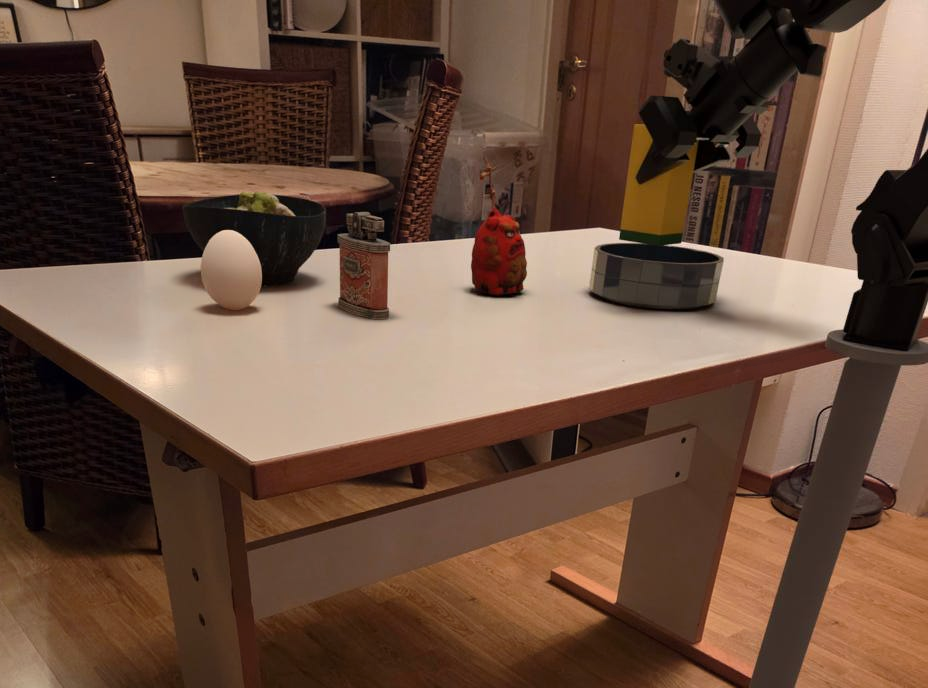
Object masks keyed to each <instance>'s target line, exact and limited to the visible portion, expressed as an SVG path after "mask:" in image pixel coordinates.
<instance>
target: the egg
mask: <svg viewBox="0 0 928 688" xmlns="http://www.w3.org/2000/svg"><path fill="white" fill-rule="evenodd" d="M200 276H201V281H202V285H203V288H204V290H205V292H206V293H207V294H208V295H209V297H210V298H211V299H212V300H213V302H215V303H216V304H217V305H218V306H220V307H222V308H223V309H226V310H231V311H238V310H242V309H245V308H246V307H248V306H250V305H251V304H252V303H253V302H254V301H255V300H256V298H257V296H258V295H259V293H260V290H261V288H262V286H261V284H262V271H261V265H260V261H259V258H258V256H257V254H256V252H255V250H254V248H253V247H252V245H251V244H250V242H249V241H248V240H247V239H246V238H245V237H244V236H242V235H241V234H239V233H238V232H236V231H233V230H223V231H221V232H219V233H217V234H215V235H214V236H213V237H212V238H211V239H210V240H209V242H208V244H207V246H206V247H205V250H204V252H203V253H202V256H201V260H200Z"/></svg>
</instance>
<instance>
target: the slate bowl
mask: <svg viewBox="0 0 928 688" xmlns="http://www.w3.org/2000/svg"><path fill="white" fill-rule="evenodd" d="M724 261H725V257H723V256H722V255H719V254H717V253H713V252H710V251H706V250H701V249H696V248H690V247H685V246H684V247H683V246H677V245H662V246H656V245H650V244H643V243H637V242H612V243H602V244H597V246H595V247H594V248H593V257H592V264H591V271H590V278H589V286H588V288H589V290H590V291H591V292H592V293H594V294H596V295H597V296H599V297H600V298H602V299H603V300H606V301H609V302H612V303H615V304H620V305H623V306H629V307H634V308H641V309H642V308H643V309H650V310H651V309H652V310H663V311H666V310H667V311H668V310H669V311H687V310H695V309H699V308H703V307H704V306H708V305H711V304H713V303H716V299H717V295H718V290H719V285H720V281H721V276H722V271H723V266H724Z"/></svg>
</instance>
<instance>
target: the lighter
mask: <svg viewBox="0 0 928 688" xmlns="http://www.w3.org/2000/svg"><path fill="white" fill-rule="evenodd" d="M346 227H347V228H346V229H347V231H348V233H338V234H337V243H338V244H339V297H337V298H338V307H339V308H341V310H344V311H346V312H348V313H350V314H353V315H356V316H360V317H363V318H367V319H372V320H385V319H389V317H390V308H389V307H388V301H389V300H388V293H389V292H388V291H389V252H391V242H389V241H386V240H383V239H380V238H377V232H385V220H383V218H382V217H379V216H375V215H371V213H370V212H368V211H360V212H359V211H354V212H353V213H346Z"/></svg>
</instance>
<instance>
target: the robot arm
mask: <svg viewBox="0 0 928 688" xmlns="http://www.w3.org/2000/svg"><path fill="white" fill-rule="evenodd" d="M886 1H887V0H713V2H714V5H715V7H716V8H717V10H718V12H719V14H720V17H721V18H722V21H723V22H724V24H725V26H726V28H727V30H728V32H729V35H730V37H732V38H733V39H735V40H741V39H745V40H747V41H748V42H747V43H746V44H745V45H743V47H742V48H741V49H740V50H739V52H737V54H735V55H734V56H733V58H731V59H717V58H716V57H715V56H714V55H713V54H711V53H709V51H708V50H706V49H704V48H703V47H701V46H699V45H698V44H695V43H691V40H690V39H689V38H688V39H687V38H681V37H680V38H679V39H678V40H677V41H676V42H673V43H672V44H671V47H670V48H669V49H666V50H665V51H664V53H663V62H662V65H663V71H662V73H663V74H664V75H665V76H666V77H667V78H671V79H672V80H674V81H676V82H677V83H678V84H679V85H681V86H682V87H683V88H685V89H686V90H685V92H684V93H683V97H684V99H685V101H686V103H687V104H688V105H690V107H691V108H690V110H686V109H685V107H684V105H683V103H682V102H681V99H680V98H679V97H678V96H665V95H650V96H649V97H648V98H647V99H646V101H645V102H644V103H643V104H642V105H641V106H640V107H639V109H638V115H639V117H640V119H641V120H642V123H643V125H645V126H646V128H647V130H648V132H649V134H650V135H651V137H652V139H653V141H652V144H651V146H650V148H649V150H648V152H647V154H646V156H645V158H644V160H643V163H642V165H641V167H640V169H639V171H638V173H637V175H636V180H637V182H638V184H643V183H645V182H648V181H650V180H652V179H654V178H656V177H658V176H660V175H662V174H664V173H666V172H668V171H670V170H671V169H673V168H675V167H678V166H680V165H681V164H683V163H685V162H687V161H689V160H690V159H689V157H688V155H687V152H688V151H689V150H690V149H691V148H692V147H693V146H694V145H695V144H696V143H697V140H699V141H698V147H697V153H696V159H695V165H694V171H693V174H695V173H698V172H700V171H702V170H706V169H709V168H710V167H714V166H717V165H719V164H722V163H727V162H729V161H730V160H731V155H730V153H729V151H728V150H727V147H729V146H730V143H733V142H735V141H736V143H738V145H737V146H736V147H735V148H734V151H733V155H734V158H736V159H748V158H749V157H750V156H751V154H752V153H754V152H755V151H756V150H757V149H758V148H759V147H760V144H761V143H760V142H761V138H762V133H761V131H760V128H759V126H758V125H757V123H756V121H755V120H754V118H753V115H754V114H756V115H762V114H764V113H765V112H766V111H767V110H768V108H769V107H770V106H769V104H768V100H769V99H770V98H771V97H772V96H773V95H774V94H775V93H776V92H777V91H778V90H779V89H781V87H782V86H783V85H784V84H785V83H787V82H788V80H789V79H790V78H791V77H792V76H793V75H794V74H796V72H797V71H798V73H799V74H800V75H803V76H807V77H810V78H815V79H818V78H820V77H821V76H822V74H823V69H824V68H823V67H824V57H825V53H826V51H827V46H826V45H823V44H819V43H814V42H813V40H812V37H811V36H810V34H809V32H808V30H807V29H810V30H815V31H816V30H817V31H821V32H827V33H833V34H835V33H837V34H839V33H844V32H847V31H849V30H850V29H852V28H853V27H855V26H856V25H858V24H859V23H860V22H862V21H863V20H865V19H866V18H868V16H870V15H872V13H874V12H875V11H876V12H877V10H878V9H879V8H881V7H882V6H883V5H884V3H885V2H886ZM788 10H789V11H790V14H789V12H788ZM792 19H793V20H792ZM869 193H870V194H869V195H868V196H867V197H866V198H865V200H864V201H863V202H861V203H860V204H858V205H857V206H856V207H855V210H856V211H859V213H858V214H857V215H856V218H855V220H854V222H853V223H852V227H851V230H850V233H851V244H852V246H853V251H854V252H855V254H856V272H857V279H858V280H859V281H860V280H861V281H862V283H861V288H859V289H857V290H856V291H854V292H853V293H852V298H851V301H850V304H849V308H848V312H847V315H846V318H845V321H844V325H843V328H842V330H843V331H844V333H847V334H845V335H844V336H843V339H842V340H843V341H847V342H853V343H858V344H864V345H870V346H875V347H881V348H887V349H892V350H898V351H905V352H907V351H909V350H910V349H911V348H912V347H913V346H914V345H915V344H916V343H917V341H918V340H919V337H917V336H918V333H919V330H920V327H921V324H922V321H923V318H924V314H925V311H926V309H927V306H928V148H927V149H926V150H925V151H924V153H923V154H922V155H921V157H920V158H919V159H918V160H917V161H916V162H915V163H913V165H911V166H909V168H906V169H885V170H884V171H883V173H882V174H881V175H880V176H879V178H878V179H877V181H876V183H875V185H874V187H873V188H872V190H871V192H869Z"/></svg>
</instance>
